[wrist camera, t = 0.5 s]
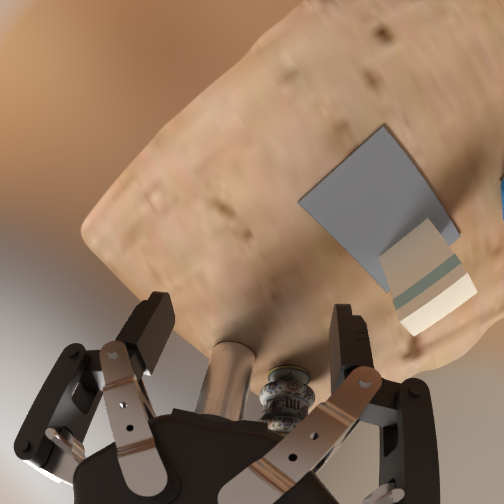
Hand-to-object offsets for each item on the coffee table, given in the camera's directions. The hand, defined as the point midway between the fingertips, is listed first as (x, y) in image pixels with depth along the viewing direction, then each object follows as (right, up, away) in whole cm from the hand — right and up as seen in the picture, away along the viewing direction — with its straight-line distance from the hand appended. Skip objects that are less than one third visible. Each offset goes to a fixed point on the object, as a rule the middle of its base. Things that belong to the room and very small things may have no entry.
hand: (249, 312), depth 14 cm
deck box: (+24, +4, +27) cm, 36 cm away
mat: (+20, +8, +26) cm, 33 cm away
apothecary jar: (+9, -25, +49) cm, 56 cm away
